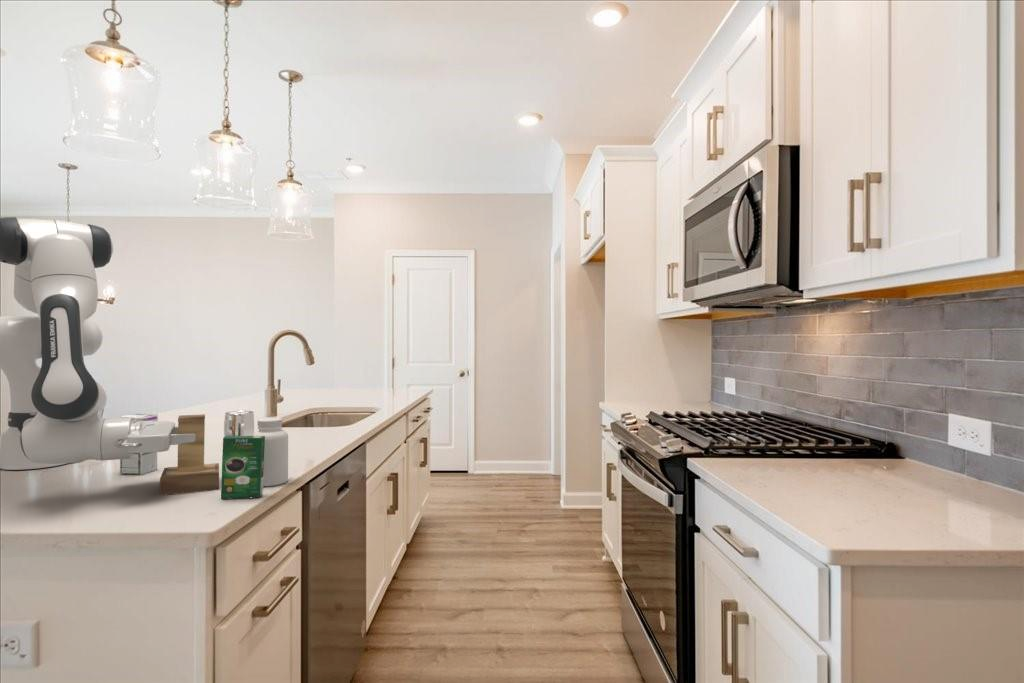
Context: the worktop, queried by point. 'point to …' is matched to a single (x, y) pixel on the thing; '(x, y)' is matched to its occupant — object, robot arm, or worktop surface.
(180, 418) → the oak block
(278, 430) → the pill bottle
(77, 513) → the worktop surface
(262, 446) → the coffee box
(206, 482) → the walnut base
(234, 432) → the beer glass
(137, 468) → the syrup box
